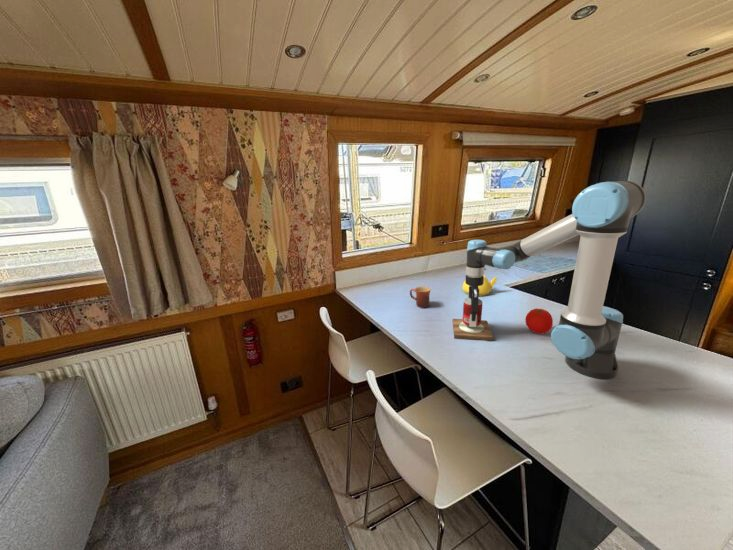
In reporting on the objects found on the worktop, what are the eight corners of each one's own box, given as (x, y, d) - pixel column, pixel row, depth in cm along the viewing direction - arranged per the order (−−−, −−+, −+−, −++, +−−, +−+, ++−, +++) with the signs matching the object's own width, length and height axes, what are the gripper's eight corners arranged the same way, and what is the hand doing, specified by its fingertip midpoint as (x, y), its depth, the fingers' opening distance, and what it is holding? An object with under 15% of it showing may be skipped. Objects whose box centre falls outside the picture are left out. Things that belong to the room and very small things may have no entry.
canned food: (482, 327, 127) (484, 304, 124) (463, 326, 129) (464, 303, 126) (479, 319, 135) (481, 297, 131) (461, 318, 136) (462, 297, 133)
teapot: (463, 296, 173) (464, 276, 170) (460, 286, 191) (461, 267, 187) (498, 298, 169) (500, 277, 165) (493, 287, 186) (494, 268, 182)
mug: (432, 304, 165) (432, 287, 162) (428, 310, 158) (428, 292, 154) (412, 301, 170) (412, 285, 167) (407, 306, 163) (407, 290, 160)
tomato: (550, 328, 132) (554, 307, 128) (551, 339, 123) (554, 316, 120) (524, 324, 137) (527, 303, 134) (523, 333, 128) (526, 312, 125)
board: (492, 341, 124) (493, 336, 123) (454, 338, 128) (454, 333, 127) (486, 324, 139) (487, 319, 138) (452, 322, 142) (452, 318, 142)
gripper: (487, 283, 115) (483, 333, 121) (480, 268, 134) (477, 313, 140) (468, 282, 116) (465, 332, 123) (463, 268, 135) (461, 312, 142)
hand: (471, 322), depth 132 cm, fingers closed on canned food, 8 cm apart
